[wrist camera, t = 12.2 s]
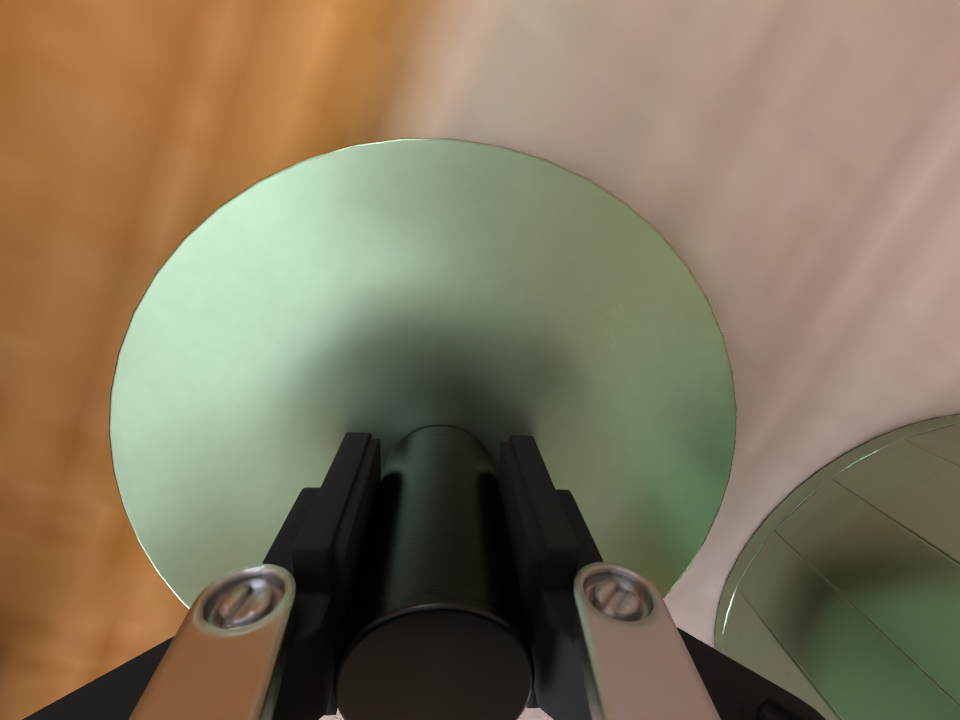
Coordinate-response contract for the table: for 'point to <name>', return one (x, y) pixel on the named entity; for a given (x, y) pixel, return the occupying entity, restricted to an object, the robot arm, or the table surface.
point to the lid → (423, 398)
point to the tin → (859, 583)
